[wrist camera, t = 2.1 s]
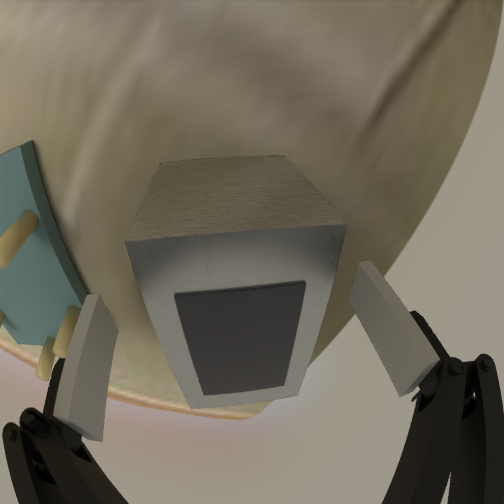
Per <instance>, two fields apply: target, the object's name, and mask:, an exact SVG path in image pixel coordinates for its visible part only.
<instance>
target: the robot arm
mask: <svg viewBox="0 0 504 504" xmlns="http://www.w3.org/2000/svg"><path fill="white" fill-rule="evenodd" d="M348 301H349V303H350V304H351V306H352V308H353V310H354V311H355V313H356V315H357V317H358V318H359V320H360V322H361V324H362V326H363V327H364V329H365V331H366V333H367V335H368V336H369V338H370V340H371V342H372V344H373V345H374V348H375V349H376V351H377V353H378V355H379V357H380V359H381V361H382V363H383V365H384V367H385V369H386V370H387V372H388V374H389V376H390V378H391V380H392V382H393V384H394V386H395V388H396V390H397V392H398V394H399V397H402V396H404V395H406V394H409V393H410V392H413V391H414V389H415V388H416V387H417V386H419V388H420V390H419V392H418V393H417V394H416V395H415V396H414V397H413V398H412V400H411V401H414V400H415V399H416V398H417V401H416V406H415V410H414V414H413V418H412V422H411V425H410V429H409V432H408V436H407V439H406V442H405V445H404V449H403V452H402V455H401V458H400V460H399V463H398V466H397V469H396V471H395V474H394V476H393V479H392V481H391V484H390V486H389V488H388V491H387V493H386V495H385V497H384V500H383V502H382V504H440V503H441V500H442V498H443V495H444V492H445V489H446V486H447V482H448V479H449V476H450V472H451V477H450V487H449V496H448V504H504V412H503V404H502V397H501V391H500V386H499V380H498V376H497V371H496V366H495V363H494V361H493V359H492V358H491V357H490V356H489V355H487V354H480V355H479V356H478V357H477V358H476V360H475V361H469V362H462V361H461V360H460V359H457V358H455V357H450V356H449V355H448V353H447V352H446V350H445V349H444V347H443V346H442V344H441V343H440V341H439V340H438V338H437V337H436V335H435V334H434V333H433V331H432V329H431V328H430V327H429V326H428V323H427V322H426V321H425V319H424V318H423V317H422V316H421V315H420V314H419V313H417V312H416V311H415V310H414V311H411V312H409V311H408V310H407V308H406V307H405V306H404V304H403V303H402V301H401V300H400V299H399V297H398V296H397V295H396V293H395V292H394V290H393V289H392V288H391V286H390V285H389V284H388V282H387V281H386V280H385V278H384V277H383V276H382V274H381V273H380V272H379V271H378V269H377V268H376V267H375V265H374V264H373V263H372V262H371V260H369V261H363V262H358V265H357V269H356V273H355V277H354V281H353V285H352V289H351V292H350V296H349V299H348ZM117 333H118V329H117V327H116V325H115V323H114V321H113V319H112V318H111V316H110V314H109V312H108V310H107V308H106V306H105V304H104V302H103V300H102V298H101V296H100V294H90V295H87V296H86V299H85V301H84V304H83V307H82V309H81V312H80V315H79V318H78V321H77V324H76V327H75V330H74V333H73V336H72V339H71V342H70V346H69V349H68V352H67V356H66V358H59V360H58V361H57V363H56V364H55V366H54V368H53V371H52V375H51V377H52V378H51V379H50V383H49V385H50V386H49V387H48V392H47V396H46V400H45V405H44V410H43V414H42V413H41V412H39V411H38V410H37V409H35V408H31V407H30V408H27V409H25V410H24V411H23V412H22V414H21V416H20V423H19V424H20V427H19V426H18V425H16V424H15V423H13V422H9V423H7V424H6V425H5V427H4V428H3V432H2V433H3V434H2V437H3V443H4V449H5V454H6V459H7V464H8V468H9V472H10V475H11V480H12V483H13V487H14V490H15V493H16V496H17V499H18V502H19V504H128V502H127V501H126V500H125V499H124V497H123V496H122V495H121V494H120V493H119V492H118V490H117V489H116V488H115V487H114V485H113V484H112V483H111V482H110V480H109V479H108V478H107V476H106V475H105V474H104V472H103V471H102V469H101V468H100V467H99V465H98V464H97V462H96V461H95V460H94V458H93V457H92V455H91V454H90V452H89V450H88V449H87V447H86V446H85V444H84V443H83V442H82V441H81V439H82V436H83V437H85V438H86V439H88V440H94V441H100V442H103V430H104V418H105V408H106V399H107V391H108V384H109V377H110V371H111V365H112V359H113V353H114V348H115V343H116V338H117ZM474 392H475V397H474V395H473V393H474Z"/></svg>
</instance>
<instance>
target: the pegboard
mask: <svg viewBox="0 0 504 504" xmlns="http://www.w3.org/2000/svg"><path fill="white" fill-rule="evenodd" d="M87 295H88V294H87V293H86V291H85V289H84V287H83V285H82V283H81V281H80V279H79V277H78V274H77V272H76V270H75V268H74V266H73V264H72V262H71V259H70V257H69V255H68V252H67V250H66V248H65V245H64V243H63V241H62V238H61V236H60V233H59V230H58V228H57V225H56V222H55V220H54V217H53V214H52V211H51V208H50V205H49V202H48V199H47V196H46V193H45V190H44V186H43V183H42V180H41V176H40V172H39V168H38V165H37V160H36V156H35V152H34V147H33V143H32V140H31V141H29V142H27V143H24V144H22V145H20V146H18V147H15V148H13V149H11V150H9V151H7V152H5V153H3V154H1V155H0V327H1V325H2V324H3V326H4V327H5V328H6V330H7V331H8V332H9V333H10V335H11V336H12V337H13V338H14V340H15V341H16V342H17V343H18V344H27V345H43V346H44V347H43V350H42V353H41V356H40V359H39V362H38V366H37V369H36V373H35V375H36V376H37V377H38V378H39V379H41V380H43V381H49V377H50V374H51V370H52V366H53V362H54V359H55V355H57V356H58V357H60V358H66V356H67V352H68V349H69V346H70V342H71V339H72V336H73V333H74V330H75V327H76V324H77V321H78V318H79V315H80V312H81V309H82V307H83V304H84V301H85V299H86V296H87Z"/></svg>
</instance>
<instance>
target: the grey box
mask: <svg viewBox="0 0 504 504" xmlns="http://www.w3.org/2000/svg"><path fill="white" fill-rule="evenodd" d="M346 227H347V223H346V222H345V221H344V220H343V218H342V217H341V216H340V215H339V214H338V213H337V212H336V210H335V209H334V208H333V207H332V206H331V205H330V204H329V203H328V201H327V200H326V199H325V198H324V197H323V196H322V195H321V194H320V193H319V192H318V190H317V189H316V188H315V187H314V186H313V185H312V184H311V183H310V182H309V181H308V180H307V179H306V178H305V177H304V176H303V174H302V173H301V172H300V171H299V170H298V169H297V168H296V167H295V166H294V165H293V164H292V163H291V162H290V161H289V160H288V159H287V158H286V157H285V156H284V155H262V156H235V157H218V158H204V159H192V160H182V161H172V162H164V163H160V164H159V166H158V168H157V170H156V172H155V174H154V176H153V178H152V180H151V183H150V185H149V187H148V189H147V191H146V193H145V195H144V198H143V200H142V202H141V204H140V206H139V209H138V211H137V213H136V216H135V218H134V220H133V223H132V225H131V228H130V230H129V233H128V235H127V238H126V240H125V244H126V247H127V251H128V254H129V258H130V261H131V264H132V267H133V271H134V274H135V277H136V280H137V283H138V286H139V289H140V292H141V295H142V297H143V300H144V303H145V306H146V309H147V311H148V314H149V317H150V319H151V322H152V324H153V327H154V329H155V332H156V334H157V337H158V339H159V342H160V344H161V347H162V349H163V351H164V354H165V356H166V358H167V360H168V363H169V365H170V367H171V369H172V371H173V374H174V376H175V378H176V380H177V382H178V384H179V386H180V388H181V390H182V392H183V394H184V396H185V398H186V400H187V402H188V404H189V406H190V408H191V409H200V408H214V407H225V406H235V405H244V404H251V403H258V402H265V401H271V400H277V399H283V398H288V397H293V396H297V395H298V392H299V389H300V387H301V384H302V381H303V378H304V376H305V373H306V370H307V367H308V364H309V361H310V359H311V356H312V353H313V350H314V347H315V343H316V340H317V337H318V334H319V331H320V328H321V324H322V321H323V318H324V314H325V311H326V307H327V304H328V300H329V297H330V293H331V289H332V286H333V282H334V278H335V274H336V270H337V266H338V262H339V258H340V254H341V250H342V245H343V241H344V236H345V232H346Z"/></svg>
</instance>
